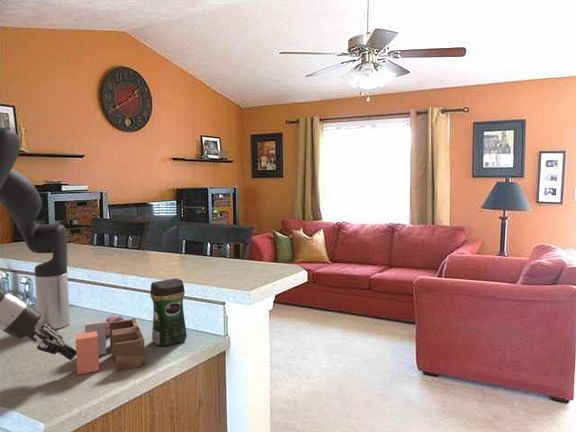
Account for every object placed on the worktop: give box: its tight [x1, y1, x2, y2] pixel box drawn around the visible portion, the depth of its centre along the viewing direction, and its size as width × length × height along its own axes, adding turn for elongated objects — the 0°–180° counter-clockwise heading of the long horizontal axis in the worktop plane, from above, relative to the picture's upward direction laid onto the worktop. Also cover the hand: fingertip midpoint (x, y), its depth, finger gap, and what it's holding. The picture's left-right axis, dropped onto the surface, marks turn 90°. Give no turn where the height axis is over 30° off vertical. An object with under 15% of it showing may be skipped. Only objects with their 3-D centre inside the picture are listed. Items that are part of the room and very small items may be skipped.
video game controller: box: [104, 314, 124, 338], centre depth 135 cm, size 10×5×7 cm, turn 169°
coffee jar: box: [149, 277, 188, 347], centre depth 129 cm, size 10×8×19 cm
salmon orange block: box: [74, 331, 100, 375], centre depth 111 cm, size 4×5×9 cm
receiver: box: [109, 318, 146, 372], centre depth 120 cm, size 18×7×7 cm, turn 26°
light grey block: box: [83, 317, 107, 356], centre depth 121 cm, size 4×5×9 cm
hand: (73, 355), depth 110 cm, fingers closed
